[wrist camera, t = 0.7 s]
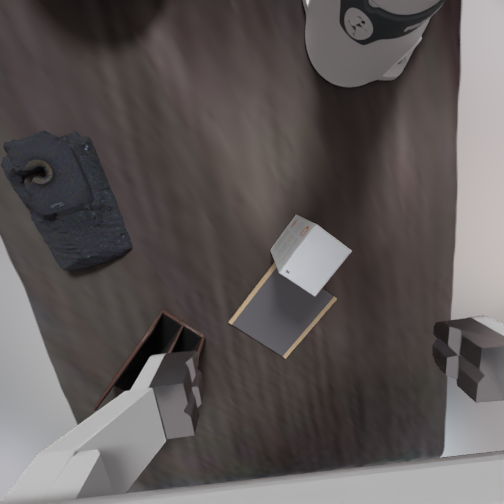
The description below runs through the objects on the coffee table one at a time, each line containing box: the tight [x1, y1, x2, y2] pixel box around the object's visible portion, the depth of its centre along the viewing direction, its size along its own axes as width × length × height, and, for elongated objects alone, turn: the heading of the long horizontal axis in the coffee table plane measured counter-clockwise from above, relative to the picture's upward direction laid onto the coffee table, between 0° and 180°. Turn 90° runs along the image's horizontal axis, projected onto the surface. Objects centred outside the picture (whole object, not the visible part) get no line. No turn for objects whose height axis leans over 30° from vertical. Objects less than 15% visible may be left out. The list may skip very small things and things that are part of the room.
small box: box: [270, 215, 352, 296], centre depth 39 cm, size 8×6×13 cm
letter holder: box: [93, 310, 205, 410], centre depth 44 cm, size 10×20×14 cm, turn 143°
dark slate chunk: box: [1, 131, 132, 270], centre depth 41 cm, size 15×22×5 cm
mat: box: [228, 262, 337, 359], centre depth 49 cm, size 16×14×1 cm
